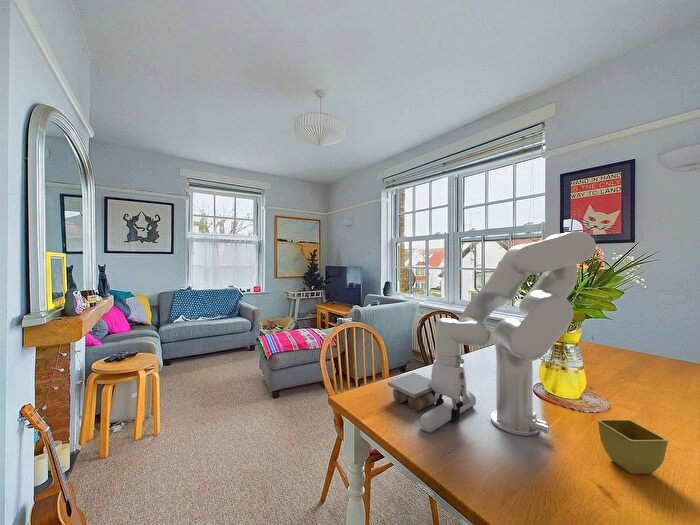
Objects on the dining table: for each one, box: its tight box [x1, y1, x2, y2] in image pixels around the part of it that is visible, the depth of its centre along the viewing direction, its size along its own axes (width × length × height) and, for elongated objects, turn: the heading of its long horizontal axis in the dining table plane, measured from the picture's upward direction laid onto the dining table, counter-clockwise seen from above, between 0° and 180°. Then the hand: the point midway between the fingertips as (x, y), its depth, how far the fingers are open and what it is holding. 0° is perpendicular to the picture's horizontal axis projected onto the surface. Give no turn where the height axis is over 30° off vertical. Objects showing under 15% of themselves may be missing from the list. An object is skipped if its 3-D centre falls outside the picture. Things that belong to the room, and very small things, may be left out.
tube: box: [419, 390, 477, 433], centre depth 90 cm, size 5×5×25 cm
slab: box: [387, 372, 431, 398], centre depth 100 cm, size 12×14×1 cm
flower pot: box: [597, 418, 669, 475], centre depth 68 cm, size 9×9×9 cm
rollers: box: [392, 388, 436, 412], centre depth 100 cm, size 12×10×5 cm
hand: (447, 416), depth 90 cm, fingers closed on tube, 4 cm apart
